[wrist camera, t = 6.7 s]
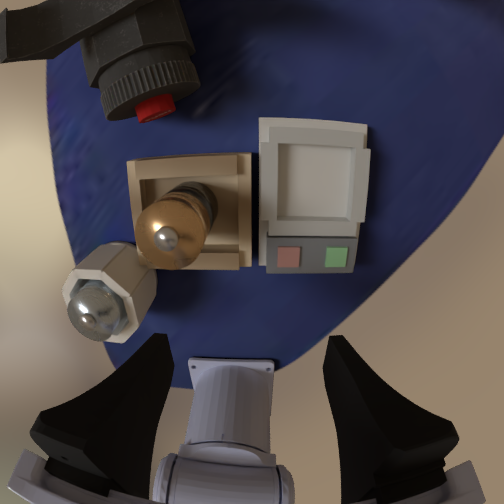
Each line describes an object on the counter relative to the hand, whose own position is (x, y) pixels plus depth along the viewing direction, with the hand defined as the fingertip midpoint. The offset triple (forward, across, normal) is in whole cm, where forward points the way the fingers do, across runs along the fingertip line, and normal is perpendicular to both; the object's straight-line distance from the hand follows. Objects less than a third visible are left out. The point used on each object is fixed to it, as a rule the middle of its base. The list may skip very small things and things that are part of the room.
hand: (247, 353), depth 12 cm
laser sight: (+10, +8, -21) cm, 25 cm away
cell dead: (+9, +10, +2) cm, 14 cm away
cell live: (+9, +4, -4) cm, 11 cm away
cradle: (+10, -4, -6) cm, 12 cm away
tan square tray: (+10, +4, -4) cm, 11 cm away
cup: (+10, +10, +2) cm, 15 cm away
